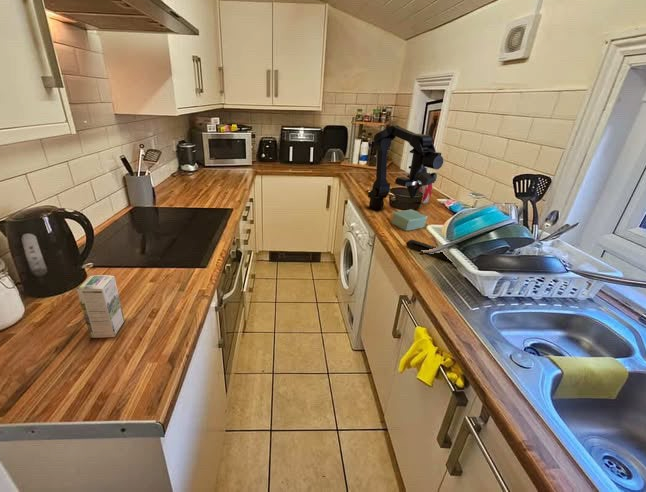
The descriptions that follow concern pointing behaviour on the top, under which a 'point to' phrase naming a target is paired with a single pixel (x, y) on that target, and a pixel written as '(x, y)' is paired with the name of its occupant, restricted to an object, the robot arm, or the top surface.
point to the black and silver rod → (425, 248)
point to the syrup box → (101, 306)
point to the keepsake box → (408, 223)
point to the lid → (410, 215)
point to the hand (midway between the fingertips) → (411, 198)
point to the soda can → (426, 193)
